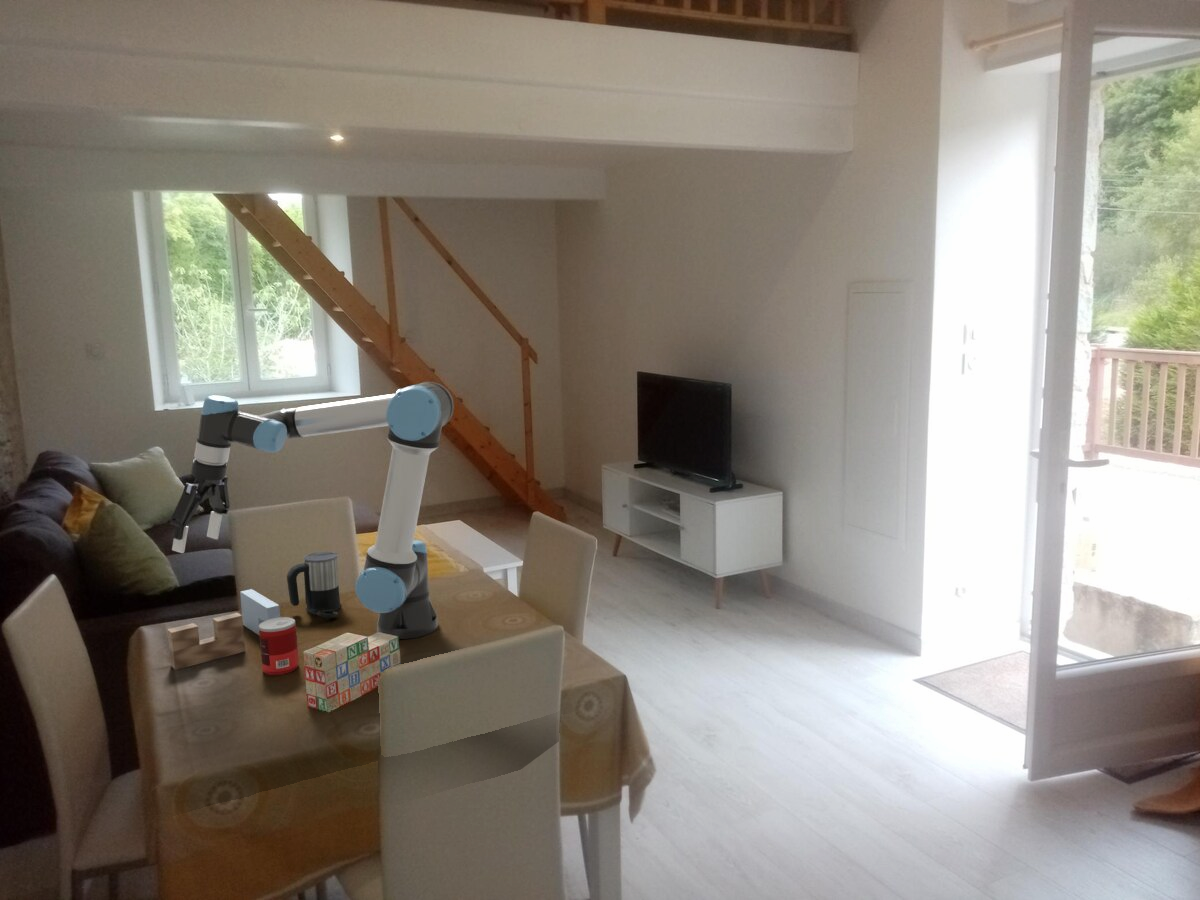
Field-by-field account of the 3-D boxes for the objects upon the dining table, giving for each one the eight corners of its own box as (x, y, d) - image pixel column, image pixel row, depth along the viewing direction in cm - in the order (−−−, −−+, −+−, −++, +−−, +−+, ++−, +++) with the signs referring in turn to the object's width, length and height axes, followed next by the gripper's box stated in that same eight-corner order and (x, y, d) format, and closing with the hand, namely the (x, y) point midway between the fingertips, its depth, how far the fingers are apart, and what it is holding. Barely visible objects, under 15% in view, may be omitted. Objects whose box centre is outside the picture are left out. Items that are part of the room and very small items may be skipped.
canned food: (305, 664, 209) (302, 618, 207) (283, 677, 202) (279, 630, 200) (278, 660, 212) (274, 615, 210) (255, 673, 204) (251, 627, 202)
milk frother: (327, 600, 254) (324, 549, 252) (364, 610, 245) (361, 557, 242) (284, 615, 243) (279, 561, 240) (321, 626, 234) (316, 571, 231)
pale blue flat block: (282, 639, 225) (279, 605, 223) (270, 643, 223) (267, 608, 221) (254, 621, 238) (251, 589, 236) (243, 624, 236) (240, 591, 234)
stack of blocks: (381, 670, 205) (378, 618, 203) (401, 675, 202) (398, 623, 200) (306, 707, 187) (302, 650, 185) (327, 713, 184) (323, 656, 182)
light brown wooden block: (240, 647, 220) (237, 612, 218) (245, 651, 218) (242, 615, 216) (171, 666, 209) (167, 629, 208) (175, 669, 207) (171, 632, 206)
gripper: (226, 448, 226) (212, 528, 230) (162, 464, 202) (147, 552, 205) (253, 457, 225) (238, 536, 229) (192, 473, 201) (177, 562, 205)
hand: (195, 544), depth 217 cm, fingers open, 13 cm apart
